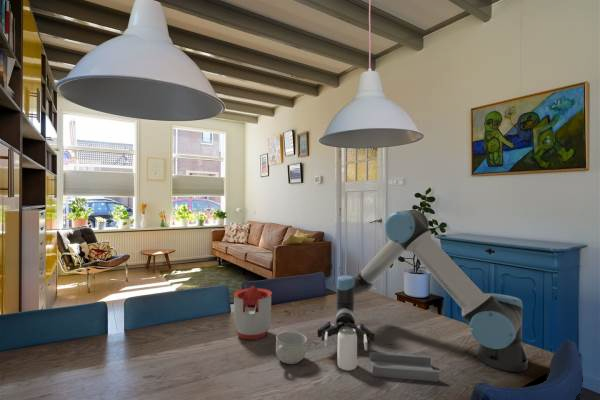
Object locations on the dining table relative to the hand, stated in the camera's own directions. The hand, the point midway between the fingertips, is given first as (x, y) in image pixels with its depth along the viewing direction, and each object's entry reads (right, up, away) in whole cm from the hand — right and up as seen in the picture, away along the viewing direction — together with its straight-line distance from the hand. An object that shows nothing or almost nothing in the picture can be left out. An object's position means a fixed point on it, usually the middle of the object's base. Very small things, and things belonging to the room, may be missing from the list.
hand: (345, 344), depth 111 cm
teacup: (-19, -7, +2) cm, 21 cm away
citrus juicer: (-35, -6, +23) cm, 42 cm away
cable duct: (+18, -7, -3) cm, 20 cm away
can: (0, -7, -1) cm, 7 cm away
